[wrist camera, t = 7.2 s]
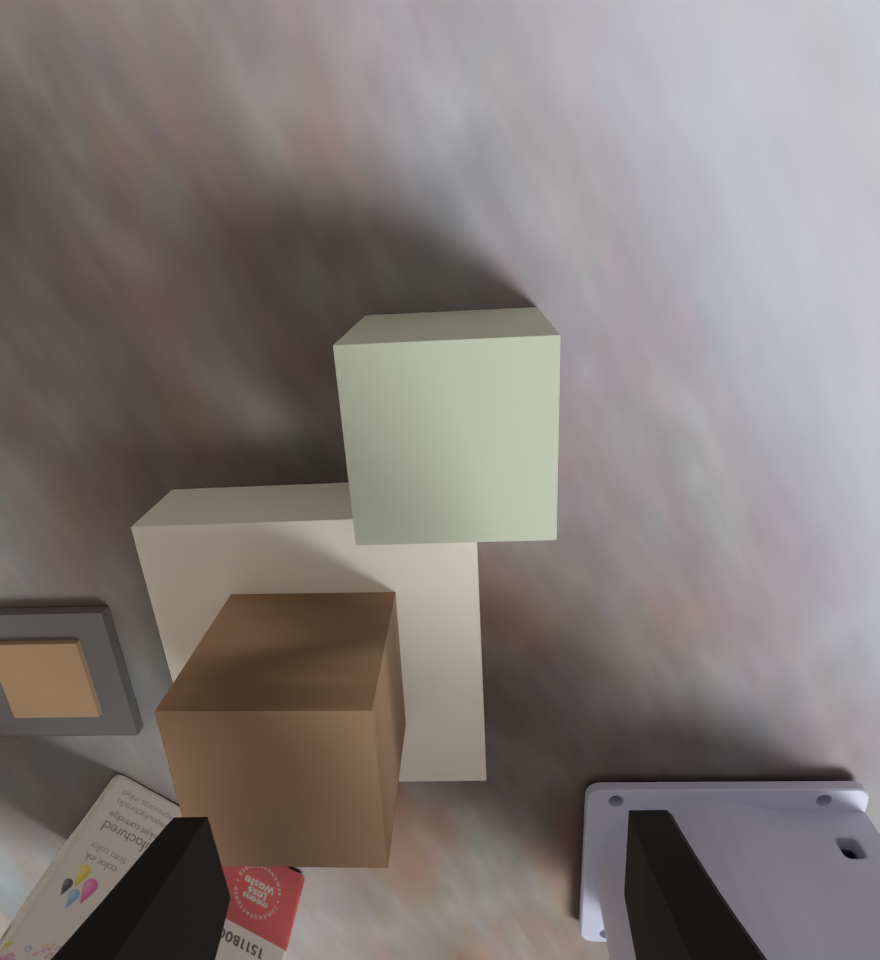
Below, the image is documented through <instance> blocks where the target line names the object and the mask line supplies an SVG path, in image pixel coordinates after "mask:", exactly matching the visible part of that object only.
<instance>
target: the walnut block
mask: <svg viewBox="0 0 880 960" xmlns="http://www.w3.org/2000/svg"><path fill="white" fill-rule="evenodd" d="M155 714H156V718H157V722H158V726H159V729H160V733H161V737H162V741H163V745H164V749H165V753H166V756H167V760H168V764H169V768H170V772H171V776H172V780H173V783H174V787H175V791H176V795H177V799H178V803H179V807H180V810H181V814H182V817H208V819H209V823H210V826H211V830H212V833H213V837H214V840H215V844H216V847H217V851H218V854H219V858H220V861H221V865H222V866H260V867H368V868H388V862H389V854H390V846H391V838H392V830H393V822H394V814H395V806H396V798H397V790H398V782H399V774H400V766H401V758H402V750H403V742H404V734H405V726H406V721H405V708H404V695H403V682H402V669H401V656H400V643H399V630H398V617H397V604H396V592H363V593H286V594H231V595H230V596H229V598H228V600H227V601H226V603H225V604H224V606H223V607H222V609H221V610H220V612H219V613H218V615H217V616H216V618H215V620H214V621H213V623H212V624H211V626H210V627H209V629H208V630H207V632H206V633H205V635H204V637H203V638H202V640H201V641H200V643H199V644H198V646H197V647H196V649H195V650H194V652H193V653H192V655H191V657H190V658H189V660H188V661H187V663H186V664H185V666H184V667H183V669H182V670H181V672H180V674H179V675H178V677H177V678H176V680H175V681H174V683H173V684H172V686H171V687H170V689H169V690H168V692H167V694H166V695H165V697H164V698H163V700H162V701H161V703H160V704H159V706H158V707H157V709H156V711H155Z"/></svg>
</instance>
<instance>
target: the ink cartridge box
mask: <svg viewBox="0 0 880 960" xmlns="http://www.w3.org/2000/svg"><path fill="white" fill-rule="evenodd" d="M174 817H182V814H181V810H180V807H179V806H177V805H176V804H174V803H172V802H170V801H169V800H167V799H165V798H163V797H162V796H160V795H158V794H156V793H154V792H152V791H151V790H149V789H147V788H145V787H144V786H142V785H140V784H138V783H137V782H135V781H133V780H131V779H129V778H127V777H125V776H123V775H118V774H117V775H116V776H115V777H114V778H113V779H112V780H111V781H110V783H109V784H108V785H107V787H106V788H105V789H104V791H103V792H102V794H101V795H100V796H99V798H98V799H97V801H96V802H95V803H94V805H93V806H92V807H91V809H90V810H89V812H88V813H87V814H86V816H85V817H84V818H83V820H82V821H81V822H80V824H79V825H78V826H77V828H76V829H75V830H74V832H73V833H72V834H71V836H70V837H69V838H68V839H67V841H66V842H65V843H64V845H63V846H62V847H61V849H60V850H59V852H58V853H57V854H56V856H55V857H54V859H53V860H52V862H51V863H50V865H49V866H48V868H47V869H46V871H45V872H44V874H43V875H42V877H41V878H40V880H39V881H38V883H37V884H36V886H35V887H34V889H33V890H32V892H31V893H30V895H29V896H28V898H27V899H26V901H25V902H24V904H23V905H22V907H21V908H20V910H19V911H18V913H17V914H16V916H15V917H14V919H13V920H12V922H11V923H10V925H9V926H8V928H7V929H6V931H5V932H4V934H3V935H2V937H1V938H0V960H50V959H51V958H52V957H53V956H54V955H55V954H56V953H57V952H58V951H59V949H60V948H61V947H62V946H63V945H64V944H65V943H66V942H67V941H68V939H69V938H70V937H71V936H72V935H73V934H74V933H75V931H76V930H77V929H78V928H79V927H80V926H81V925H82V923H83V922H84V921H85V920H86V919H87V918H88V917H89V916H90V914H91V913H92V912H93V911H94V910H95V909H96V908H97V906H98V905H99V904H100V903H101V902H102V901H103V900H104V898H105V897H106V896H107V895H108V894H109V893H110V891H111V890H112V889H113V888H114V887H115V886H116V884H117V883H118V882H119V881H120V880H121V879H122V877H123V876H124V875H125V874H126V873H127V871H128V870H129V869H130V868H131V867H132V866H133V864H134V863H135V862H136V861H137V860H138V858H139V857H140V856H141V855H142V854H143V853H144V851H145V850H146V849H147V848H148V847H149V845H150V844H151V843H152V842H153V841H154V839H155V838H156V837H157V836H158V835H159V834H160V832H161V831H162V830H163V829H164V828H165V827H166V825H167V824H168V823H169V822H170V821H171V820H172V819H173V818H174ZM222 869H223V872H224V876H225V879H226V883H227V886H228V890H229V893H230V897H231V898H230V902H229V907H228V911H227V915H226V919H225V923H224V927H223V931H222V935H221V939H220V943H219V947H218V951H217V954H216V958H215V960H284V959H285V955H286V951H287V947H288V944H289V939H290V935H291V931H292V928H293V924H294V919H295V915H296V912H297V908H298V904H299V900H300V896H301V892H302V889H303V884H304V876H303V875H302V874H301V873H298V872H296V871H294V870H292V869H290V868H288V867H260V866H222Z"/></svg>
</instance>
